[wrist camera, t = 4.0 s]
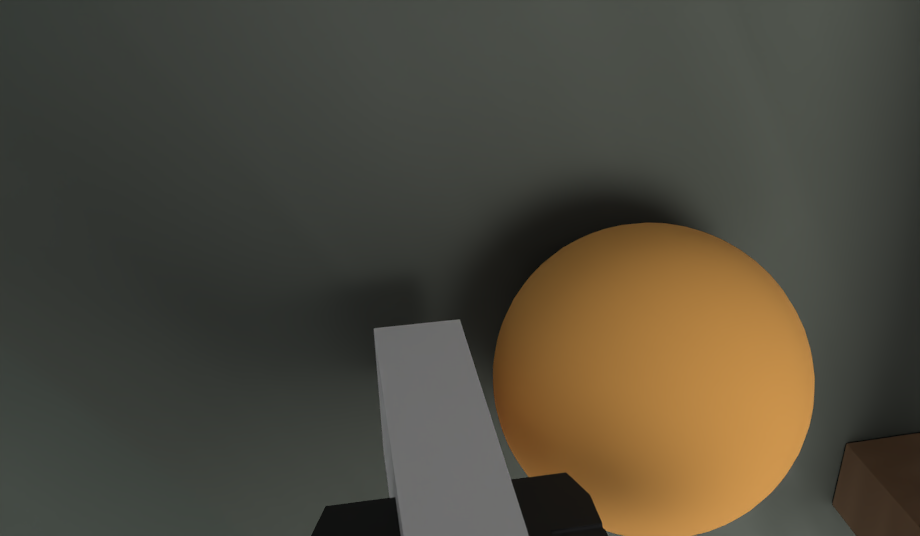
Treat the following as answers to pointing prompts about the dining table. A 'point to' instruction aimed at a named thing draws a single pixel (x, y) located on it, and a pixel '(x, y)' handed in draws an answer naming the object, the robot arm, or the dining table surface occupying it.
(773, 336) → the ball
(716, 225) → the dining table surface
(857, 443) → the bridge
